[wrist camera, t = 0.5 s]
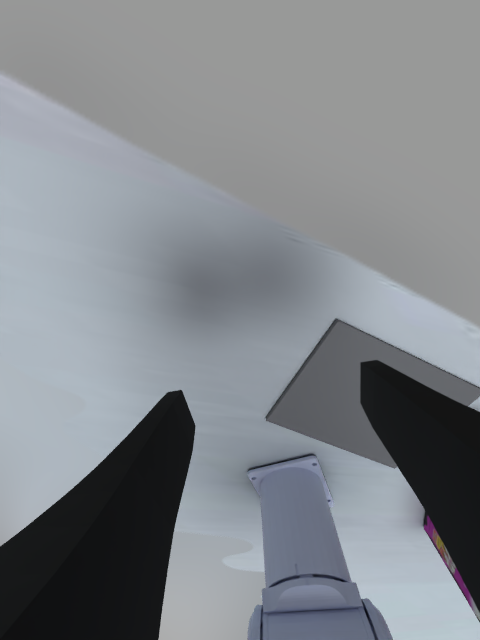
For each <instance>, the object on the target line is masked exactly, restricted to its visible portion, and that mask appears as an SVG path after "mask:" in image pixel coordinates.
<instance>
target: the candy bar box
mask: <svg viewBox="0 0 480 640" xmlns="http://www.w3.org/2000/svg"><path fill="white" fill-rule="evenodd" d="M424 530H425V531H426V533H427V534H428V536H429V538H430V539H431V541H432V543H433V544H434V546H435V548H436V549H437V551H438V553H439V554H440V556H441V558H442V560H443V561H444V563H445V565H446V566H447V568H448V570H449V571H450V573H451V575H452V576H453V578H454V580H455V581H456V583H457V585H458V586H459V588H460V590H461V591H462V593H463V595H464V596H465V598H466V600H467V601H468V603H469V605H470V607H471V608H472V610H473V612H474V613H475V615H476V617H477V618H478V620H479V622H480V613H479V611H478V609H477V607H476V605H475V603H474V601H473V599H472V597H471V595H470V593H469V591H468V589H467V587H466V585H465V583H464V582H463V580H462V578H461V576H460V574H459V572H458V570H457V568H456V566H455V564H454V563H453V561H452V559H451V557H450V555H449V553H448V551H447V549H446V547H445V545H444V544H443V542H442V540H441V538H440V536H439V535H438V533H437V531H436V529H435V527H434V525H433V524H432V522H431V520H430V518H429V516H428V514H427V513H426V518H425V525H424Z"/></svg>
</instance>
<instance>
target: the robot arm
mask: <svg viewBox="0 0 480 640" xmlns="http://www.w3.org/2000/svg"><path fill="white" fill-rule="evenodd" d="M360 403H361V405H362V407H363V410H364V412H365V414H366V416H367V418H368V420H369V422H370V424H371V426H372V428H373V429H374V431H375V432H376V434H377V436H378V437H379V439H380V440H381V442H382V443H383V445H384V446H385V448H386V450H387V451H388V453H389V454H390V456H391V457H392V459H393V460H394V462H395V463H396V465H397V466H398V468H399V469H400V471H401V472H402V474H403V476H404V477H405V479H406V480H407V482H408V483H409V485H410V486H411V488H412V489H413V491H414V492H415V494H416V496H417V497H418V499H419V501H420V502H421V504H422V506H423V507H424V509H425V511H426V513H427V514H428V516H429V518H430V520H431V522H432V524H433V525H434V527H435V529H436V531H437V533H438V535H439V536H440V538H441V540H442V542H443V544H444V545H445V547H446V549H447V551H448V553H449V555H450V557H451V559H452V561H453V563H454V564H455V566H456V568H457V570H458V572H459V574H460V576H461V578H462V580H463V582H464V583H465V585H466V587H467V589H468V591H469V593H470V595H471V597H472V599H473V601H474V603H475V605H476V607H477V609H478V611H479V613H480V412H478V411H476V410H474V409H472V408H470V407H468V406H465V405H463V404H461V403H459V402H457V401H455V400H453V399H451V398H449V397H447V396H445V395H443V394H441V393H439V392H437V391H435V390H433V389H431V388H429V387H427V386H425V385H424V384H422V383H420V382H418V381H416V380H414V379H412V378H410V377H409V376H407V375H405V374H403V373H401V372H399V371H398V370H396V369H394V368H392V367H390V366H388V365H386V364H384V363H383V362H380V361H378V360H372V361H366V362H360ZM194 435H195V423H194V421H193V418H192V416H191V413H190V410H189V408H188V405H187V402H186V400H185V397H184V395H183V392H182V390H179V391H173V392H168V393H167V394H166V395H165V396H164V397H163V398H162V399H161V400H160V401H159V402H158V403H157V404H156V405H155V406H154V407H153V409H152V410H151V411H150V412H149V413H148V414H147V415H146V416H145V417H144V418H143V420H142V421H141V422H140V423H139V424H138V425H137V426H136V427H135V428H134V429H133V430H132V431H131V433H130V434H129V435H128V436H127V437H126V438H125V439H124V440H123V441H122V442H121V443H120V444H119V445H118V446H117V447H116V448H115V449H114V450H113V451H112V452H111V453H110V454H109V455H108V456H107V457H106V458H105V459H104V460H103V461H102V462H101V463H100V464H99V465H98V466H97V467H96V468H95V469H94V470H93V471H91V472H90V473H89V474H88V475H87V476H86V477H85V478H84V479H83V480H82V481H81V482H79V484H77V485H76V486H75V487H74V488H73V489H72V490H70V491H69V492H68V493H67V494H66V495H65V496H63V497H62V498H61V499H60V500H59V501H57V502H56V503H55V504H54V505H52V506H51V507H50V508H49V509H47V510H46V511H45V512H44V513H43V514H41V515H40V516H39V517H38V518H36V519H35V520H34V521H33V522H32V523H30V524H29V525H28V526H27V527H26V528H24V529H23V530H21V531H20V532H19V533H18V534H16V535H15V536H14V537H12V538H11V539H10V540H9V541H7V542H6V543H4V544H3V545H2V546H1V547H0V640H158V638H159V629H160V621H161V613H162V606H163V599H164V592H165V584H166V577H167V569H168V564H169V557H170V551H171V545H172V539H173V532H174V528H175V523H176V518H177V514H178V509H179V505H180V501H181V497H182V493H183V489H184V485H185V481H186V477H187V472H188V468H189V464H190V460H191V455H192V451H193V443H194ZM248 477H249V479H250V481H251V482H252V484H253V486H254V488H255V489H256V491H257V493H258V494H259V496H260V498H261V514H262V531H263V547H264V564H265V581H266V588H264V589H262V601H263V605H257V606H256V607H255V609H254V612H253V614H252V616H251V618H250V621H249V627H248V640H393V638H392V636H391V633H390V631H389V629H388V626H387V624H386V622H385V620H384V618H383V616H382V614H381V613H380V611H379V610H378V609H377V608H376V607H375V606H374V605H373V604H372V602H371V601H370V600H369V599H367V598H366V599H361V597H360V594H359V591H358V588H357V584H356V583H354V582H353V583H352V582H351V578H350V575H349V571H348V568H347V565H346V561H345V558H344V555H343V551H342V548H341V544H340V541H339V538H338V534H337V531H336V528H335V524H334V521H333V518H332V514H331V511H330V508H331V507H333V506H334V501H333V499H332V496H331V494H330V491H329V488H328V486H327V483H326V480H325V478H324V475H323V472H322V470H321V467H320V465H319V462H318V459H317V457H316V456H308V457H303V458H299V459H295V460H291V461H287V462H282V463H278V464H274V465H270V466H265V467H261V468H257V469H253V470H249V471H248Z"/></svg>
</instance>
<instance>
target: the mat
mask: <svg viewBox="0 0 480 640" xmlns="http://www.w3.org/2000/svg"><path fill="white" fill-rule="evenodd" d="M372 360H378V361H380V362H383V363H384V364H386V365H388V366H390V367H392V368H394V369H396V370H398V371H399V372H401V373H403V374H405V375H407V376H409V377H410V378H412V379H414V380H416V381H418V382H420V383H422V384H424V385H425V386H427V387H429V388H431V389H433V390H435V391H437V392H439V393H441V394H443V395H445V396H447V397H449V398H451V399H453V400H455V401H457V402H459V403H461V404H463V405H465V406H469V405H470V404H471V403H472V402H473V401H475V400H476V399H477V398H478V397H479V396H480V388H479V387H477V386H475V385H472V384H470V383H468V382H466V381H464V380H462V379H460V378H458V377H456V376H454V375H452V374H450V373H448V372H446V371H443V370H441V369H439V368H437V367H435V366H433V365H431V364H429V363H427V362H425V361H423V360H421V359H419V358H417V357H414V356H412V355H410V354H408V353H406V352H404V351H402V350H400V349H398V348H396V347H394V346H392V345H390V344H387V343H385V342H383V341H381V340H379V339H377V338H375V337H373V336H371V335H369V334H367V333H365V332H363V331H361V330H358V329H356V328H354V327H352V326H350V325H348V324H346V323H344V322H342V321H340V320H338V319H336V320H335V321H334V323H333V324H332V326H331V327H330V328H329V330H328V331H327V333H326V334H325V335H324V337H323V338H322V340H321V341H320V342H319V344H318V345H317V347H316V348H315V349H314V351H313V352H312V354H311V355H310V356H309V358H308V359H307V361H306V362H305V363H304V365H303V366H302V368H301V369H300V370H299V372H298V373H297V375H296V376H295V377H294V379H293V380H292V382H291V383H290V384H289V386H288V387H287V389H286V390H285V391H284V393H283V394H282V396H281V397H280V398H279V400H278V401H277V403H276V404H275V405H274V407H273V408H272V410H271V411H270V412H269V414H268V415H267V417H266V421H269V422H271V423H274V424H277V425H279V426H282V427H285V428H287V429H290V430H293V431H296V432H298V433H301V434H304V435H306V436H309V437H312V438H314V439H317V440H320V441H322V442H325V443H328V444H330V445H333V446H336V447H338V448H341V449H344V450H346V451H349V452H352V453H354V454H357V455H360V456H362V457H365V458H368V459H371V460H373V461H376V462H379V463H381V464H384V465H387V466H389V467H392V468H396V467H397V465H396V463H395V462H394V460H393V459H392V457H391V456H390V454H389V453H388V451H387V450H386V448H385V446H384V445H383V443H382V442H381V440H380V439H379V437H378V436H377V434H376V432H375V431H374V429H373V428H372V426H371V424H370V422H369V420H368V418H367V416H366V414H365V412H364V410H363V407H362V405H361V403H360V362H366V361H372Z"/></svg>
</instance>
